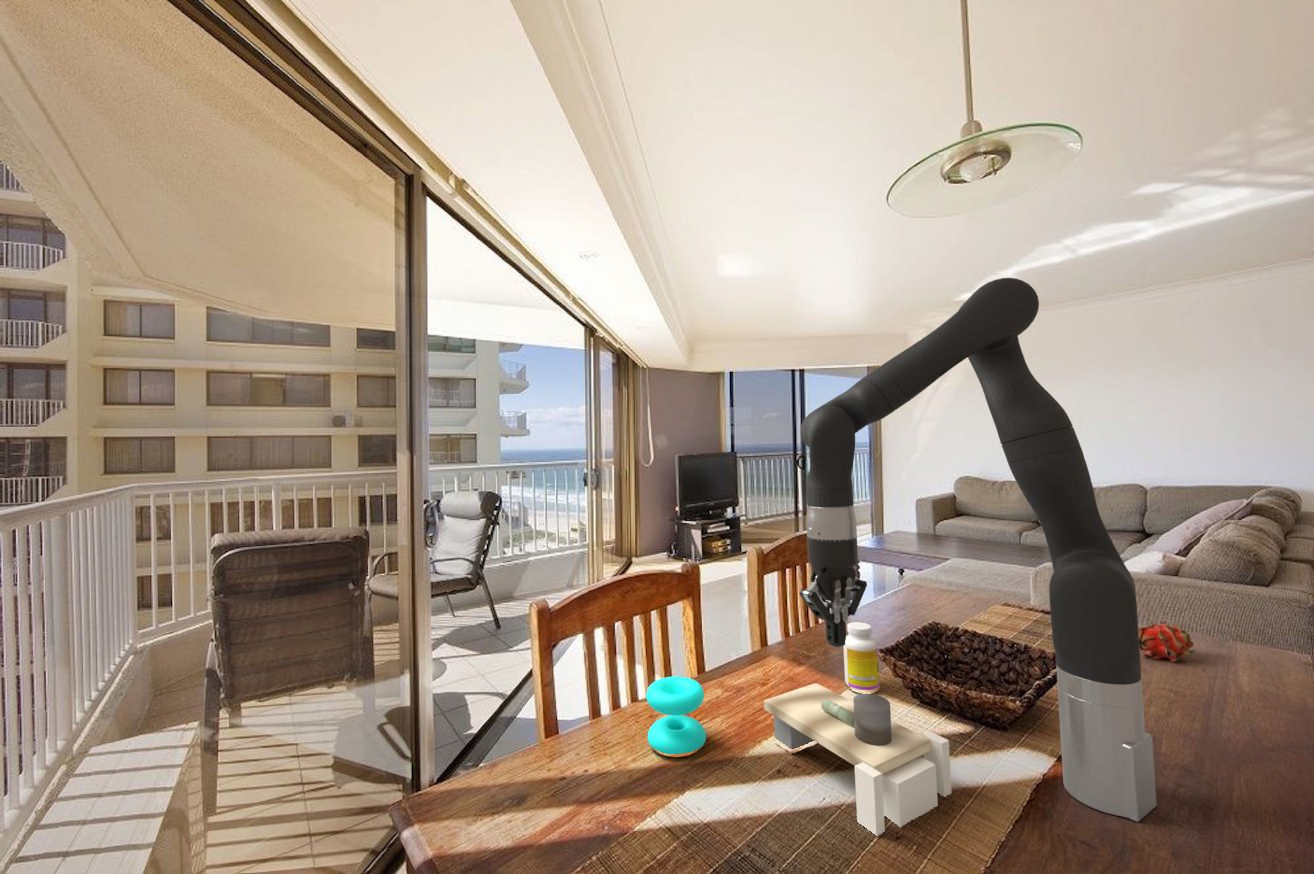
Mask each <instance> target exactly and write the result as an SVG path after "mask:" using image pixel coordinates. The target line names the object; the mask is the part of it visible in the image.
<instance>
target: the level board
mask: <svg viewBox="0 0 1314 874" xmlns="http://www.w3.org/2000/svg"><path fill="white" fill-rule="evenodd" d="M763 709H764V710H765V711H766V712H768V713H770V714H771V715H773V717H774V716H776V717H777V718H779V719H781V720H782V721H784V722H785V723H787V724H789V725H790V726H792V727H793V728H795V729H797V730H798V731H800V732H801V733H803V734H805V735H806V736H808V737H809V738H811V739H813V740H814V741H816V742H817V743H819V744H818V745H820V746H822V747H824V748H825V749H827V750H829V751H830V752H832V753H834V754H835V755H837V756H838V757H840V758H842V759H844V760H845V762H846V761H847V762H848V763H850V764H852V765H853V766H854V767H855V765H858V764H860V763H862V762H863V763H865V764H867V765H868V766H870V767H872V768H874V769H875V770H877V771H879V772H880V773H882V774H884V773H886V772H888V771H890V770H892V769H894V768H896V767H898V766H900V765H902V764H904V763H906V762H908V761H910V760H912V759H914V758H916V757H918V756H920V757H922V755H923V754H925V753H927V752H929V751H931V742H930V739H928V738H926V737H924V736H922V735H921V734H919V733H918V732H915V731H913V730H911V729H909V728H907V727H905V726H903V725H902V724H899V723H897V722H895V721H893V720H891V719H892V716H891V703H890V701H889V699H887V698H885V697H884V696H882V695H877V694H875V693H874V694H859V693H858V694H857V695H855V696H854V697H853V700H851V699H849V698H847V697H845V696H842V695H841V694H839V693H837V692H835V691H832V690H831V689H828V688H826V687H824V686H823V685H821V684H819V683H817V682H815V683H811V684H809V685H806V686H803V687H799V688H796V689H794V690H791V691H788V692H785V693H782V694H778V695H776V696H773V697H770V698H767V699H765V700H763Z"/></svg>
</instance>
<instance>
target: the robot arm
mask: <svg viewBox="0 0 1314 874" xmlns="http://www.w3.org/2000/svg"><path fill="white" fill-rule="evenodd" d="M1039 307H1040V301H1039V296H1038V294H1037V291H1036V290H1035V289H1034V288H1033V286H1031V285H1030V283H1028V282H1026V281H1024V280H1022V279H1018V278H1014V277H1002V278H997V279H994V280H991V281H988V282H987V283H984V284H983V285H981V286H980V287H979V288H978V289H977V290H975V291H974V292H973V293H972V294H971V296H969V297H968V299H967V300H966V301H964V302H963V304H961V305H960V307H959V309H958V311H956V312H955V313H954V314H953V315H951V316H950V317H949V318H948V319H947V320H946V321H945V322H943V323H942V324H941V325H939V326H937V328H935V329H934V330H933V331H931V332H930V333H929V334H927V335H926V336H925V337H922V338H921V339H920V340H918V341H916V342H915V343H914V344H912V345H910V346H909V347H907V348H906V349H905V350H903V351H901V352H900V353H898V354H897V355H895V356H893V357H892V358H891V359H889V360H887V361H886V362H884V363H882V364H881V365H880V366H879V367H877V368H875V369H874V370H873V371H871V372H870V373H868V374H866V375H865V376H864V377H863V378H861V379H859V380H858V381H857V382H855V384H853V385H852V386H851V387H850V388H848V389H847V390H846V391H844V392H842V393H840V394H839V395H837V396H835V397H834V398H832V399H831V400H829V401H827V402H826V403H824V404H823V405H821V406H818V407H817V408H815V409H814V410H812V411H811V412H810V413H808V414H807V415H806V417H805V418H804V419H803V421H802V423H801V427H800V437H801V439H802V441H803V443H804V444H805V445H806V446H807V448H809V470H808V472H807V475H806V480H805V481H806V482H805V485H806V486H805V488H806V489H805V490H806V519H805V520H806V521H805V523H806V542H807V543H806V544H807V545H806V546H807V561H808V563H809V565H811V574H810V578H809V579H810V584H809V585H808V587H807V588H806V589H805V588H801V589H800V590H799V596H800V597H801V599H802V600H803V602H804V603H805V605H806V606H807V608H808V609H809V610H810V612H811V613H812V614H813V615H814V617H815V618H817V619H819V620H823V621H825V622H824V623H825V634H826V641H827V642H828V644H829V645H830V646H831V647H835V648H840V647H843V646H844V645H845V641H846V636H847V629H846V628H847V627H846V626H847V624H846V622H847V621H848V619H849V617H850V616H853V617H854V615H856V613H857V610H858V608H859V605H860V603H861V601H862V599H863V596H864V594H865V591H866V590H867V589H866V588H867V586H868V583H867V581H866V580H862V579H860V578H859V577H858V576H857V571H856V569H855V567H856V566H857V565H858V563H859V550H858V532H857V531H858V530H857V528H858V527H857V517H856V514H855V504H854V502H855V501H854V488H853V477H852V474H853V467H854V460H855V453H856V452H855V450H856V433H858V432H860V431H861V430H862V429H864V428H865V427H866V426H868V425H870V424H873V423H877V422H879V421H881V420H883V419H885V418H886V417H888V416H889V415H890V414H893V413H894V412H895V411H897V410H898V409H900V408H901V407H903V406H904V405H906V404H907V403H908V402H910V401H911V400H913V399H914V398H916V397H917V396H918V395H919V394H921V393H922V392H923V391H924V390H926V389H927V388H928V387H930V386H931V385H933V383H935V382H936V381H937V380H938V379H939V378H941V377H943V376H944V375H945V374H947V373H948V372H949V371H951V370H952V369H953V368H954V367H956V366H957V365H959V364H960V363H962V362H963V361H965V360H966V359H968V360H969V363H970V365H971V367H972V368H973V371H974V373H975V375H976V377H977V379H978V381H979V383H980V385H981V386H980V387H981V389H982V392H983V395H984V397H985V401H986V403H987V406H988V410H989V412H990V415H991V418H992V420H993V423H994V426H995V428H996V432H997V436H998V439H999V443H1000V445H1001V448H1002V450H1003V453H1004V456H1005V459H1006V461H1007V464H1008V467H1009V469H1010V472H1011V474H1012V476H1013V478H1014V479H1015V481H1016V483H1017V485H1018V487H1019V489H1020V491H1021V492H1022V494H1023V496H1024V497H1025V499H1026V501H1027V502H1028V503H1029V506H1030V507H1031V509H1032V511H1033V513H1034V514H1035V515H1036V517H1037V519H1038V521H1039V523H1040V526H1041V528H1042V531H1043V533H1044V537H1045V539H1046V540H1045V541H1046V544H1047V548H1048V551H1049V555H1050V559H1051V564H1052V570H1053V573H1052V575H1051V577H1050V581H1049V586H1048V587H1049V588H1048V589H1049V594H1048V595H1049V610H1050V611H1049V612H1050V623H1051V634H1052V636H1051V637H1052V645H1053V649H1054V653H1055V664H1056V665H1055V666H1056V681H1057V698H1058V715H1059V732H1060V748H1061V751H1060V752H1061V765H1062V767H1061V769H1062V771H1061V772H1062V779H1063V787H1064V789H1065V791H1067V792H1068V794H1069V795H1070V796H1071V797H1073V798H1075V799H1076V800H1077V801H1079V802H1081V803H1082V804H1084V805H1086V806H1088V807H1090V808H1093V809H1095V810H1097V811H1100V812H1103V813H1105V814H1109V815H1114V816H1117V817H1118V816H1119V817H1124V818H1127V819H1130V820H1132V821H1134V822H1140V821H1141V820H1142V819H1143V818H1144V817H1145V816H1147V815H1148V814H1149V813H1150V812H1151V811H1152V810H1153V809H1155V808H1156V807H1157V794H1156V793H1157V792H1156V780H1155V777H1156V776H1155V775H1156V774H1155V764H1154V762H1155V760H1154V749H1153V747H1154V745H1153V736H1152V735H1151V734H1150V733H1149V732H1146V730H1145V728H1146V727H1145V714H1144V713H1145V712H1144V697H1143V683H1142V682H1143V681H1142V664H1141V663H1142V662H1141V661H1142V660H1141V649H1140V648H1139V633H1138V631H1139V619H1138V618H1139V617H1138V604H1137V593H1136V584H1135V582H1134V581H1135V580H1134V577H1132V574H1131V573H1130V571H1129V570H1128V567H1127V566H1126V564H1125V563H1124V561H1123V559H1122V557H1121V555H1120V554H1119V551H1118V550H1117V548H1116V546H1115V544H1114V542H1113V540H1112V539H1111V536H1110V534H1109V533H1108V530H1107V528H1106V526H1105V524H1104V522H1103V519H1102V517H1101V514H1100V512H1099V511H1100V510H1099V508H1098V505H1097V501H1096V495H1095V492H1094V486H1093V482H1092V479H1091V475H1090V471H1089V467H1088V464H1087V461H1086V459H1085V455H1084V452H1083V449H1082V446H1081V443H1080V441H1079V439H1078V436H1077V434H1076V431H1075V428H1074V426H1073V423H1072V421H1071V419H1070V417H1069V415H1068V414H1067V411H1066V410H1065V409H1064V408H1063V407H1062V405H1061V404H1060V403H1059V402H1058V400H1056V399H1055V398H1054V396H1053V395H1052V394H1051V393H1050V392H1049V391H1047V389H1046V388H1044V387H1043V385H1041V384H1040V383H1039V381H1038V380H1037V379H1036V377H1035V376H1034V375H1033V374H1032V371H1031V370H1030V369H1029V366H1028V364H1027V362H1026V360H1025V359H1026V358H1025V357H1024V354H1023V351H1022V347H1021V344H1020V340H1019V336H1020V335H1021V334H1022V333H1024V332H1025V331H1026V330H1027V329H1028V328H1029V327H1030V326H1031V325H1032V323H1033V322H1034V321H1035V319H1036V317H1037V315H1038V312H1039V309H1040V308H1039Z"/></svg>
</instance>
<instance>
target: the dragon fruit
mask: <svg viewBox="0 0 1314 874" xmlns="http://www.w3.org/2000/svg"><path fill="white" fill-rule="evenodd" d="M1138 633H1139V649H1140V651H1144V652H1143V656H1144V657H1145V658H1151V659H1154V660H1157V659H1161V658H1167V659H1169V661H1170V662H1171V663H1175V662H1177V661H1179V660H1180V659H1181V656H1185V657H1187V656H1192V655H1193V654H1194V652H1195V651H1194V650H1191V648H1193V647H1194V642H1193V641H1192V638H1191V635H1190V633H1188V632H1187V631H1186V630H1184V629H1183V627H1182V626H1179V625H1175V626H1171V625H1169V624H1168V623H1167V622H1166V621H1161V624H1160V625H1159V624H1155V623H1152V622H1150V623H1149V624H1148V625H1147V626H1144V627H1141V628H1138Z"/></svg>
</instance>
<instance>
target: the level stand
mask: <svg viewBox="0 0 1314 874" xmlns="http://www.w3.org/2000/svg"><path fill="white" fill-rule="evenodd" d="M773 725H774V728H773V731H774V739H775V738H776V739H777V740H779V741H780V742H782V743H783V744H785V745H786V746H788V748H790V749H795V748H798V747H800V746H803V745H805V744H808V743H809V742H812V741H814V740H813V739H811V738H809V737H808V736H806V735H805V734H803V733H801V732H800V731H798V730H797V729H795V728H793V727H792V726H790V725H789V724H787V723H785V722H784V721H782V720H781V719H779V718H777V717H776V716H774V715H773ZM922 736H924V737H926V738H928V739H930V742H931V751H929V752H927V753H925V754H923V757H922V756H918V757H916V758H914V759H912V760H910V761H908V762H906V763H904V764H902V765H900V766H898V767H896V768H894V769H892V770H890V771H888V772H886V773H884V774H882V773H880V772H879V771H877V770H875V769H874V768H872V767H870V766H868V765H867V764H865V763H863V762H862V763H860V764H858V765H855V766H854V780H855V781H854V782H855V783H854V784H855V799H856V803H855V804H856V805H855V806H856V821H857V822H858V823H859V824H861V825H862V826H864V827H865V828H867V830H869V831H871V832H872V833H873V834H875V835H876V836H878V835H879V834H881V835H883V834H884V833H883V832H886V831H885V830H886V829H885V826H886V825H885V817H884V816H886V817H887V818H888V819H890V820H891V821H892V822H894V823H895V824H897V825H898V826H899V827H898V826H897V825H896V826H897V827H898V828H900V829H901V828H902V827H904V826H906V825H908V824H909V823H911V822H912V821H911V820H913V819H914V820H916V819H918V818H919V816H920V817H921V816H923V815H925V814H926V813H928V812H930V811H931V809H932V810H933V809H935V808H936V807H938V805H939V803H938V800H939V799H938V795H939V794H940V795H939V796H941V795H942V796H941V797H943V796H944V797H945V798H947V797H948V796H947V795H949V794H950V795H952V794H951V793H952V792H953V791H952V777H951V776H952V775H951V757H950V740H949V739H947V738H945V737H942V736H941V735H938V734H936V733H934V732H932V731H930V730H928V731H927V732H924V733H923V734H922ZM937 793H939V794H937ZM950 795H949V796H950ZM946 796H947V797H946ZM944 797H943V798H944ZM934 807H935V808H934ZM917 817H918V818H917ZM915 818H916V819H915ZM888 819H887V820H888ZM914 820H913V821H914ZM891 821H890V822H891ZM910 821H911V822H910ZM892 822H891V823H892ZM908 822H909V823H908ZM894 823H893V824H894ZM907 823H908V824H907ZM859 824H858V825H859ZM895 824H894V825H895ZM905 824H906V825H905ZM903 825H904V826H903ZM862 826H861V827H862ZM867 830H866V831H867ZM869 831H868V832H869ZM882 833H883V834H882ZM873 834H872V835H873ZM878 837H879V836H878Z"/></svg>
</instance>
